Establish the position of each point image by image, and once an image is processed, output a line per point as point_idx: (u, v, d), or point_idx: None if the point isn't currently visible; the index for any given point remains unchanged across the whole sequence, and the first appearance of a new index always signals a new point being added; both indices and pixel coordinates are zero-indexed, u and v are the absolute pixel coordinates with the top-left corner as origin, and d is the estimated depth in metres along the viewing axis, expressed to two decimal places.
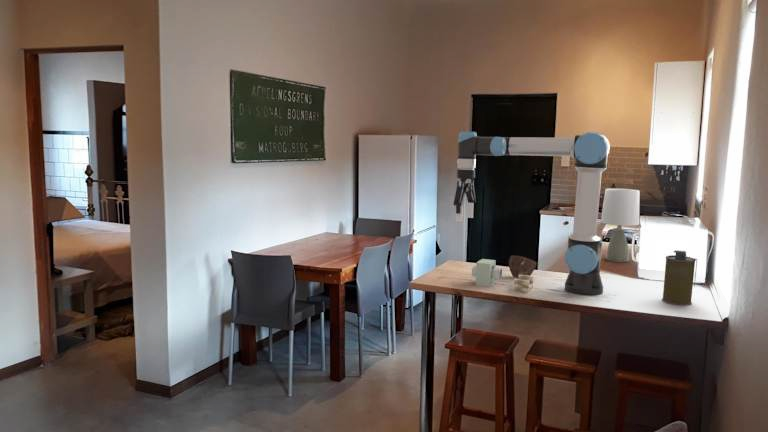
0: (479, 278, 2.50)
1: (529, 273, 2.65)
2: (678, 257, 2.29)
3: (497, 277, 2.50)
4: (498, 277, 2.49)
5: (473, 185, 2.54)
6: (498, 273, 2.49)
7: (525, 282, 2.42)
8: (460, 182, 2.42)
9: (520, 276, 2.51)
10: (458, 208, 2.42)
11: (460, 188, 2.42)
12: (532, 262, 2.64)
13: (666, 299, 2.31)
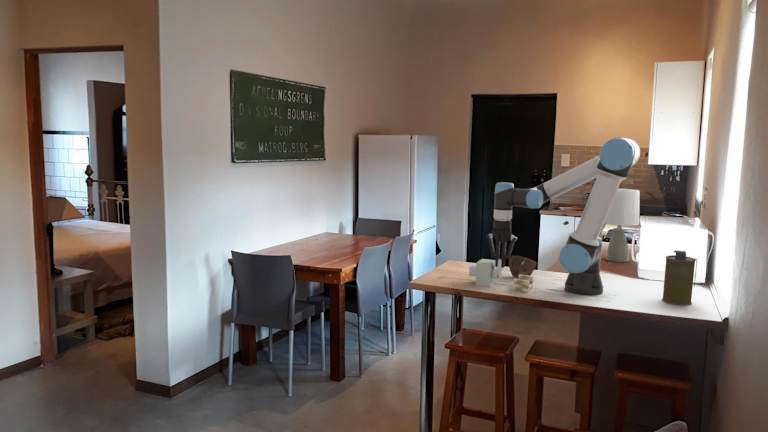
0: (479, 278, 2.50)
1: (529, 273, 2.65)
2: (678, 257, 2.29)
3: (494, 277, 2.50)
4: (495, 277, 2.50)
5: (512, 242, 2.46)
6: (495, 273, 2.50)
7: (525, 282, 2.42)
8: None
9: (520, 276, 2.51)
10: None
11: None
12: (532, 262, 2.64)
13: (666, 299, 2.31)
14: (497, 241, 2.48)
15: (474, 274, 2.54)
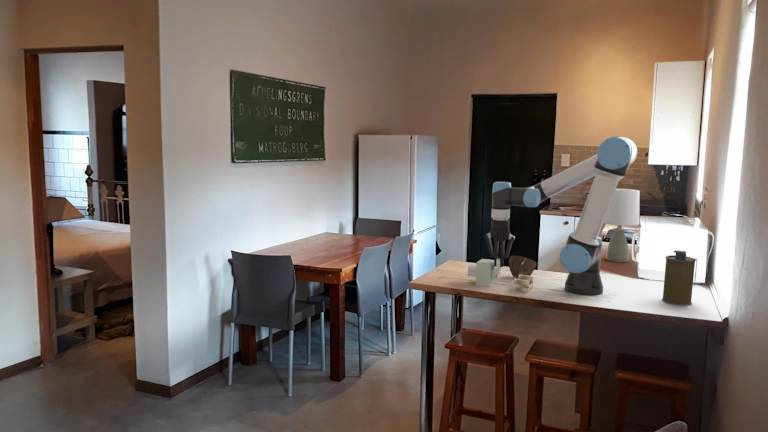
0: (479, 278, 2.50)
1: (529, 273, 2.65)
2: (678, 257, 2.29)
3: (493, 277, 2.50)
4: (494, 277, 2.50)
5: (510, 242, 2.46)
6: (494, 273, 2.50)
7: (525, 282, 2.42)
8: None
9: (520, 276, 2.51)
10: None
11: None
12: (532, 262, 2.64)
13: (666, 299, 2.31)
14: (495, 240, 2.48)
15: (473, 274, 2.54)
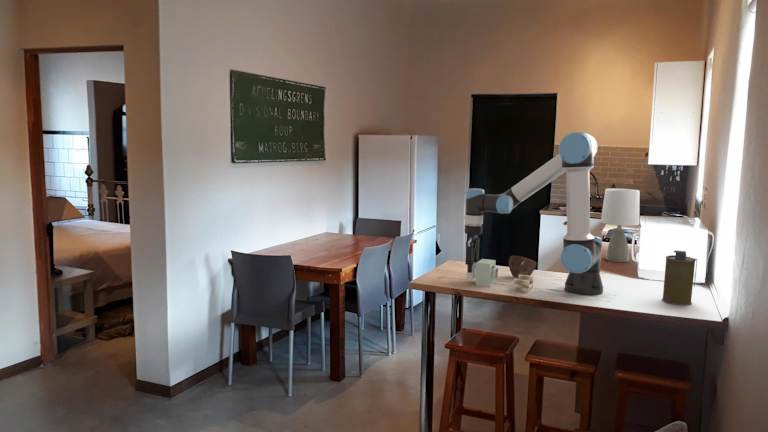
0: (479, 278, 2.50)
1: (529, 273, 2.65)
2: (678, 257, 2.29)
3: (493, 277, 2.50)
4: (494, 277, 2.50)
5: None
6: (494, 273, 2.50)
7: (525, 282, 2.42)
8: (469, 243, 2.48)
9: (520, 276, 2.51)
10: (470, 267, 2.52)
11: (470, 248, 2.49)
12: (532, 262, 2.64)
13: (666, 299, 2.31)
14: (475, 246, 2.52)
15: None
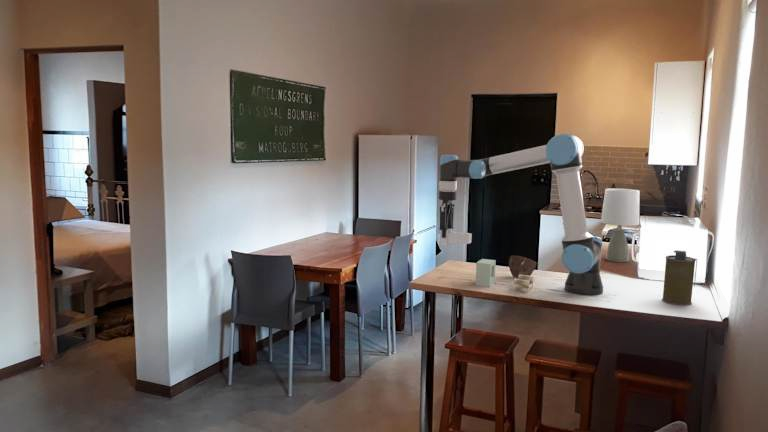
0: (479, 278, 2.50)
1: (529, 273, 2.65)
2: (678, 257, 2.29)
3: (466, 241, 2.53)
4: (467, 241, 2.53)
5: (453, 209, 2.62)
6: (468, 238, 2.53)
7: (525, 282, 2.42)
8: (442, 208, 2.51)
9: (520, 276, 2.51)
10: (444, 233, 2.55)
11: (443, 214, 2.52)
12: (532, 262, 2.64)
13: (666, 299, 2.31)
14: (449, 212, 2.55)
15: None
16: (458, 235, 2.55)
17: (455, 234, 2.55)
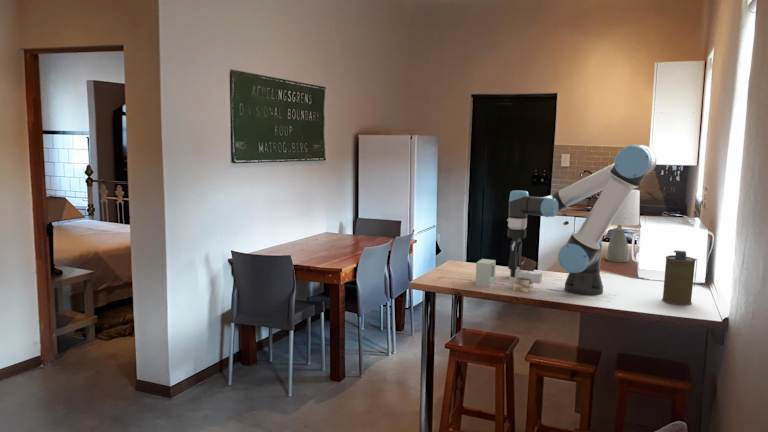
0: (479, 278, 2.50)
1: None
2: (678, 257, 2.29)
3: (537, 281, 2.43)
4: (538, 281, 2.43)
5: (521, 246, 2.52)
6: (539, 277, 2.42)
7: (525, 282, 2.42)
8: (513, 247, 2.41)
9: None
10: (513, 272, 2.45)
11: (513, 252, 2.42)
12: (532, 262, 2.64)
13: (666, 299, 2.31)
14: (519, 250, 2.45)
15: None
16: (528, 274, 2.44)
17: (524, 273, 2.45)
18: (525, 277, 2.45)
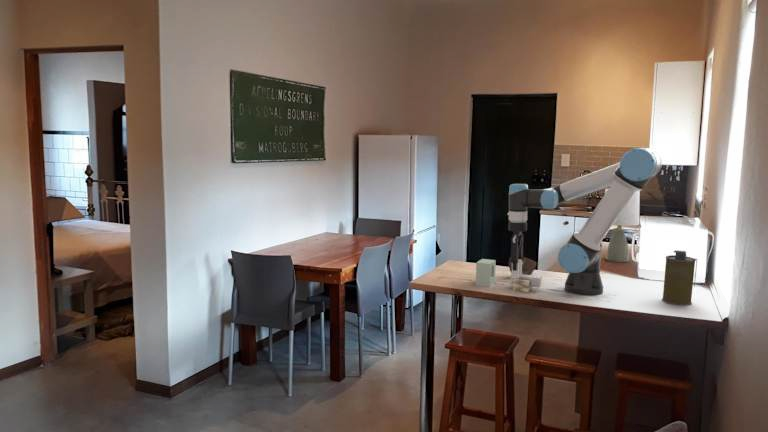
0: (479, 278, 2.50)
1: (529, 273, 2.65)
2: (678, 257, 2.29)
3: (537, 285, 2.43)
4: (538, 285, 2.43)
5: None
6: (538, 281, 2.43)
7: (525, 282, 2.42)
8: (514, 239, 2.40)
9: None
10: (515, 265, 2.43)
11: (515, 245, 2.41)
12: (532, 262, 2.64)
13: (666, 299, 2.31)
14: (520, 243, 2.44)
15: None
16: (528, 278, 2.44)
17: (524, 277, 2.45)
18: None
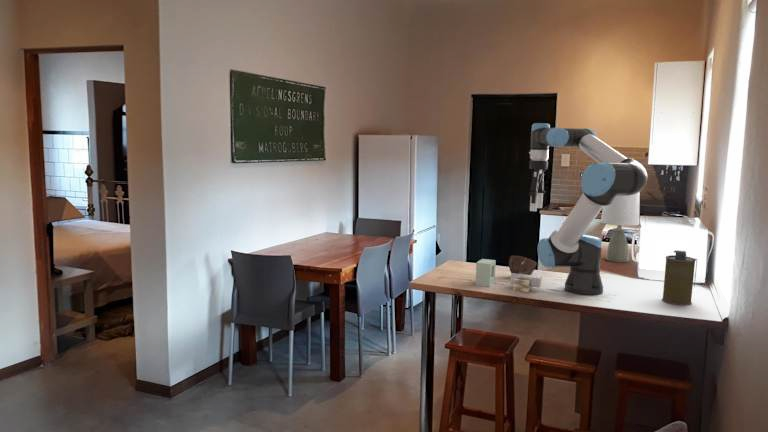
0: (479, 278, 2.50)
1: (529, 273, 2.65)
2: (678, 257, 2.29)
3: (537, 285, 2.43)
4: (538, 285, 2.43)
5: (543, 176, 2.59)
6: (538, 281, 2.43)
7: (525, 282, 2.42)
8: (535, 173, 2.48)
9: None
10: (533, 198, 2.47)
11: (535, 178, 2.47)
12: (532, 262, 2.64)
13: (666, 299, 2.31)
14: (540, 180, 2.51)
15: None
16: (528, 278, 2.44)
17: (524, 277, 2.45)
18: None
